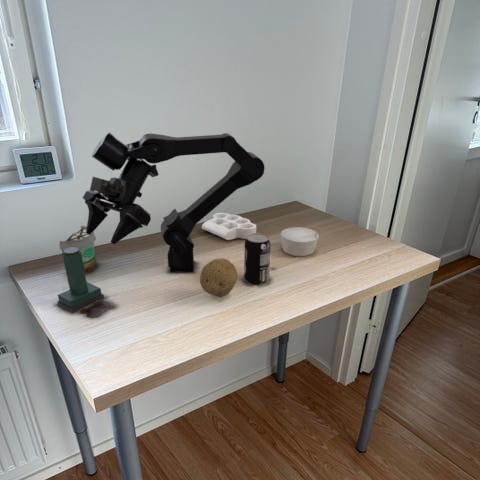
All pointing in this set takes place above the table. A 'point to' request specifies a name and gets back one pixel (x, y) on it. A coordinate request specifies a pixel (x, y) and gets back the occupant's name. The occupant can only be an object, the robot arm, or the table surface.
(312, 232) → the ramekin
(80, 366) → the table surface
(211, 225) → the white egg tray
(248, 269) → the beverage can
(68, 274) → the wiper
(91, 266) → the food container
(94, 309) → the coffee spill
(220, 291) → the natural sponge
